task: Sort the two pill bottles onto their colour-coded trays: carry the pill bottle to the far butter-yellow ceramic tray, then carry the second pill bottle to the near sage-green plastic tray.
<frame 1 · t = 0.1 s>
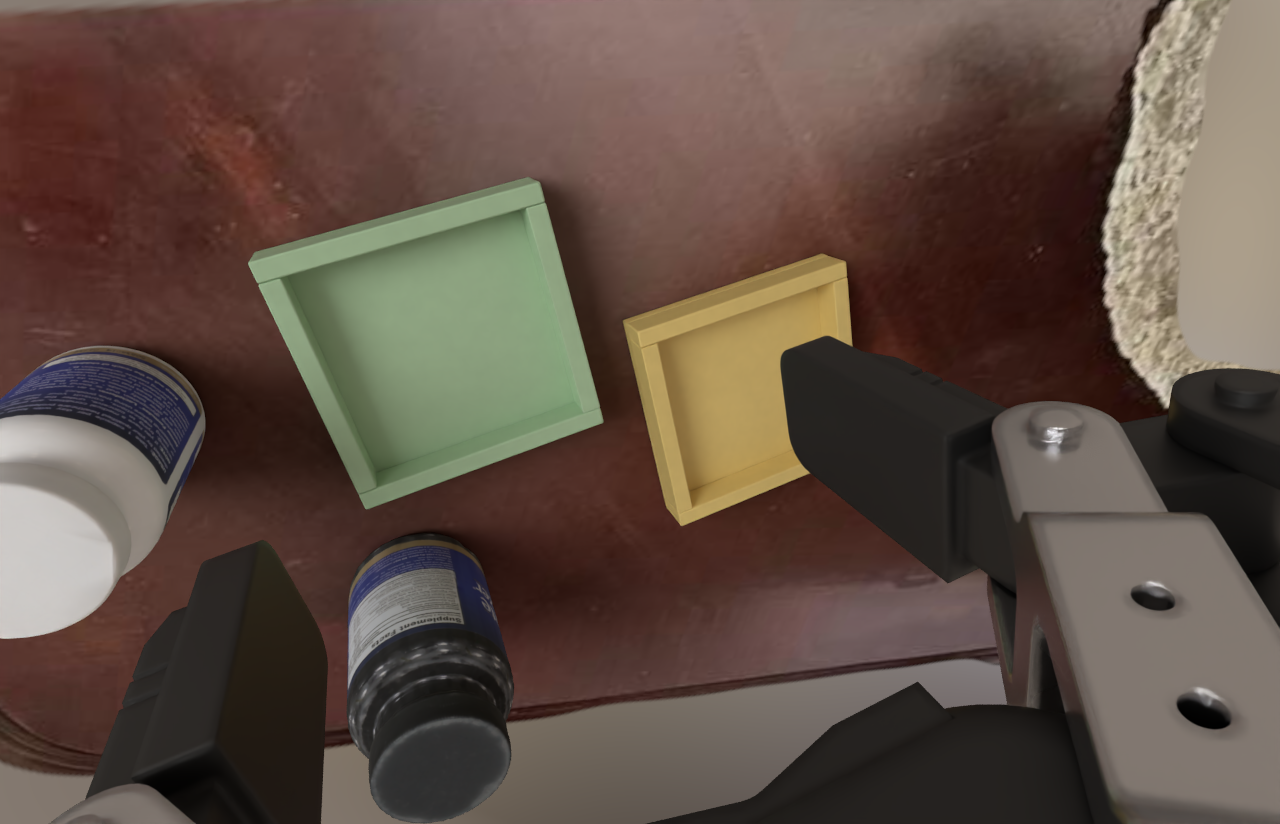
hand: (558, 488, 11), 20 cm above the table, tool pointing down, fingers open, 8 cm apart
yellow tray: (741, 384, 36), on the table
pill bottle: (121, 413, 26), on the table
pill bottle 2: (417, 581, 34), on the table
green tray: (443, 338, 29), on the table
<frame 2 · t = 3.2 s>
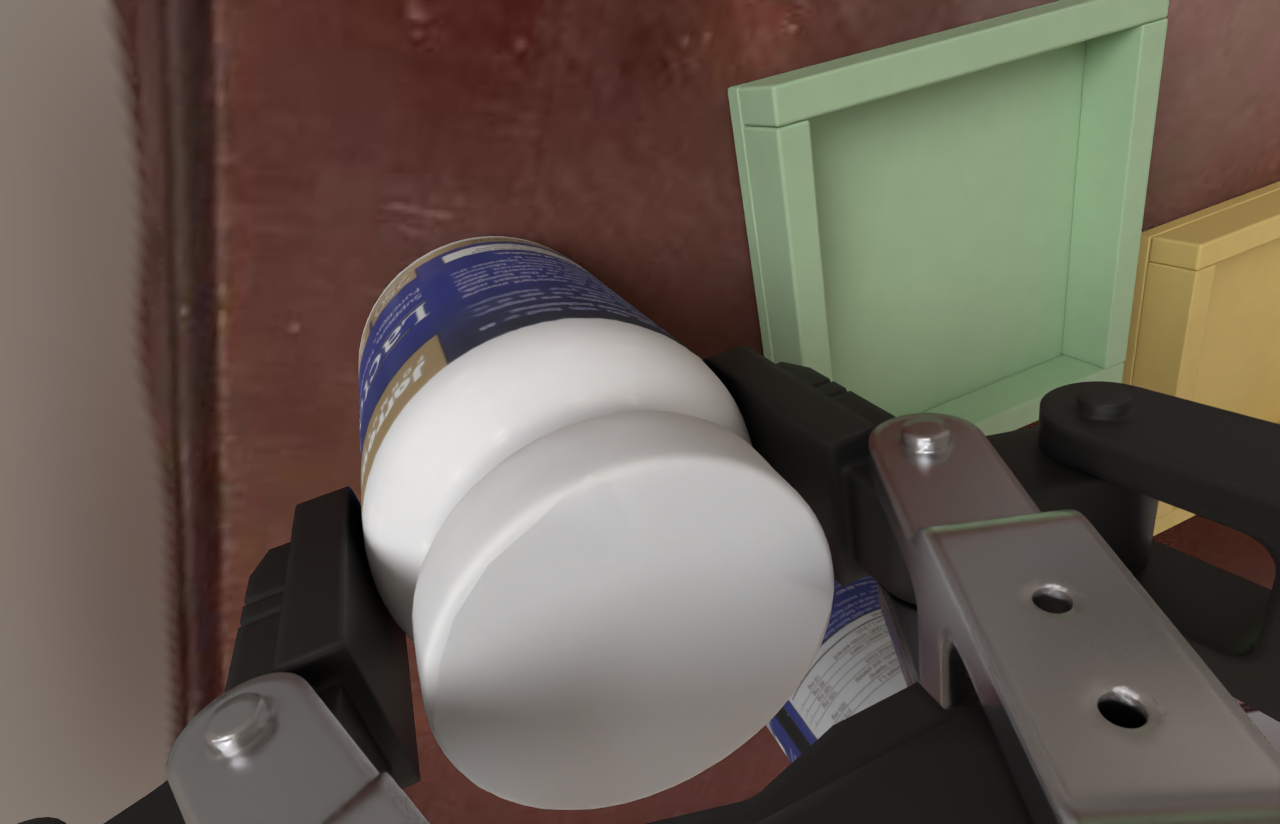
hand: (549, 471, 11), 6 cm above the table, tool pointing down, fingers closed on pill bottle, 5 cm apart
yellow tray: (1228, 337, 25), on the table
pill bottle: (491, 357, 16), on the table, touching gripper
pill bottle 2: (804, 616, 23), on the table
green tray: (927, 252, 19), on the table
when the fingers open (6 cm above the table, at t = 10.6 s): pill bottle stays where it is, resting on yellow tray.
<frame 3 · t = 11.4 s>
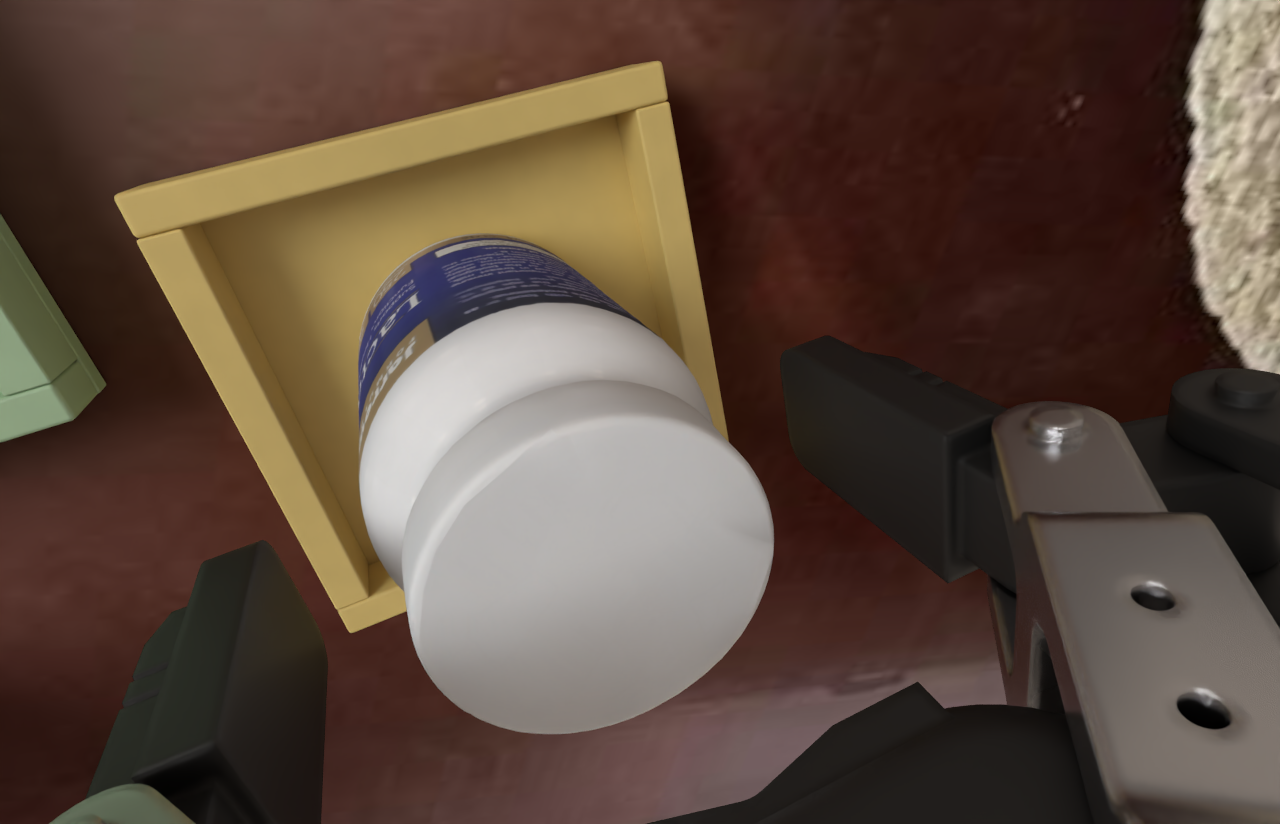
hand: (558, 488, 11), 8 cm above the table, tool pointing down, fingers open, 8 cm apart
yellow tray: (480, 344, 18), on the table
pill bottle: (482, 347, 17), resting on yellow tray
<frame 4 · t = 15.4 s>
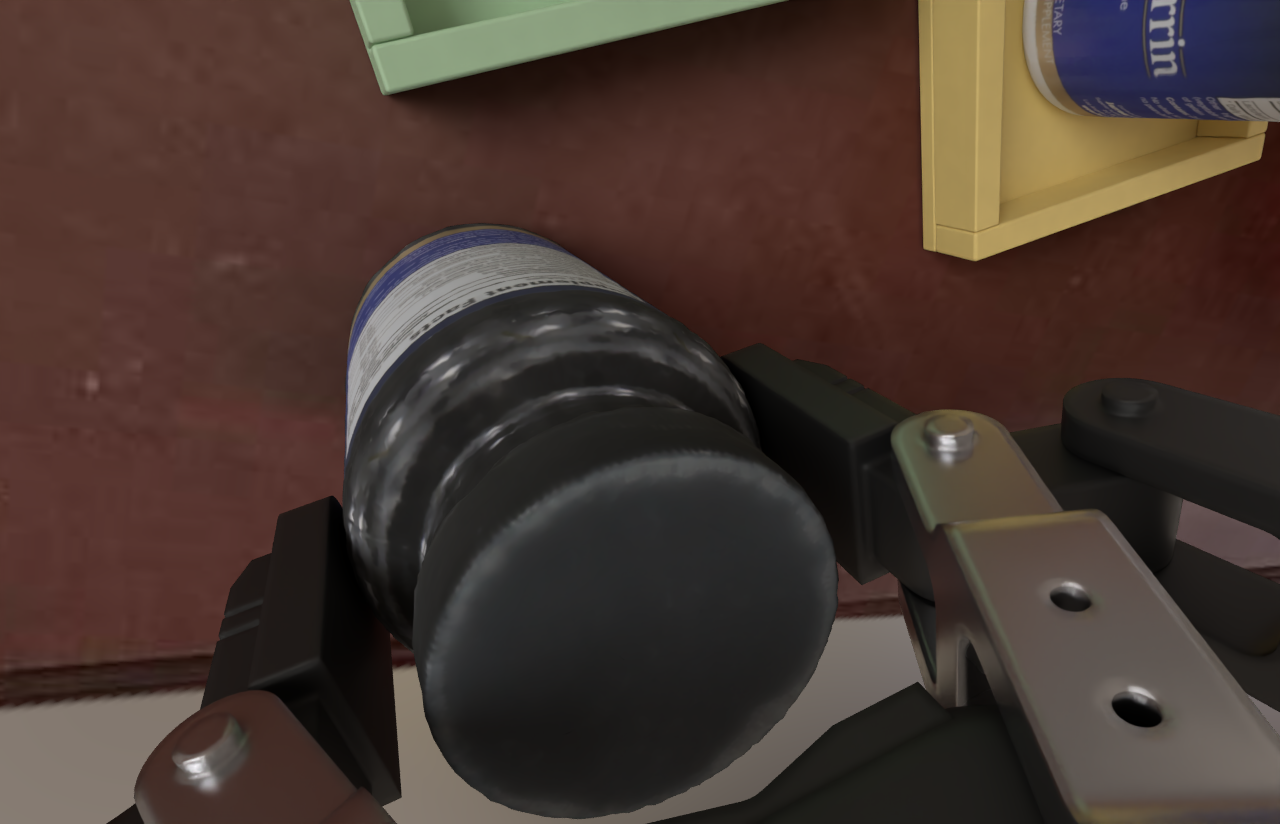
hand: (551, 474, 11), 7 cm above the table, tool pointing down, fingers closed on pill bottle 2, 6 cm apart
yellow tray: (1079, 4, 19), on the table
pill bottle: (1089, 1, 19), resting on yellow tray
pill bottle 2: (482, 345, 17), on the table, touching gripper
when the fingers open (7 cm above the table, at t = 21.8 s): pill bottle 2 stays where it is, resting on green tray.
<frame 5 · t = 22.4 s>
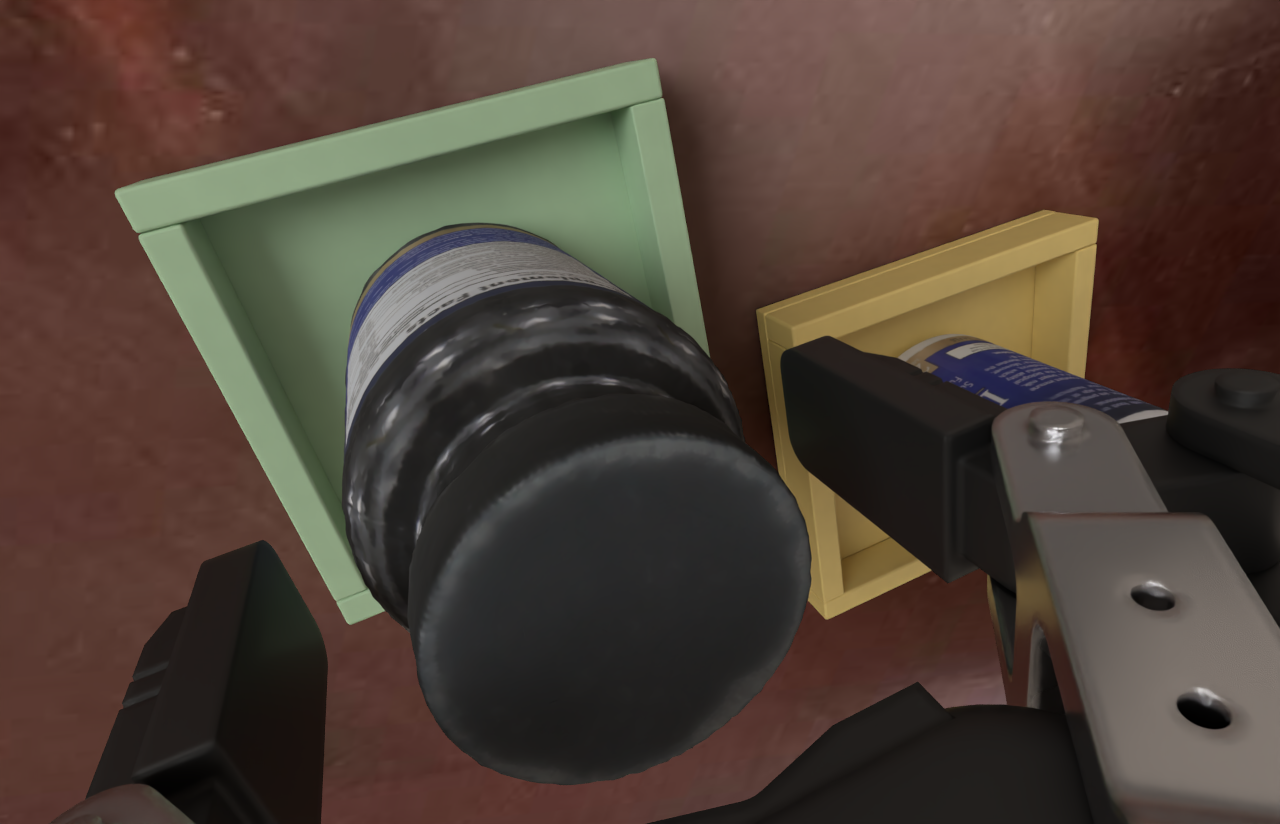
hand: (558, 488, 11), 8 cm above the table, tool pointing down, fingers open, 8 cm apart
yellow tray: (912, 407, 24), on the table
pill bottle: (918, 410, 24), resting on yellow tray
pill bottle 2: (479, 342, 17), resting on green tray
green tray: (477, 339, 18), on the table
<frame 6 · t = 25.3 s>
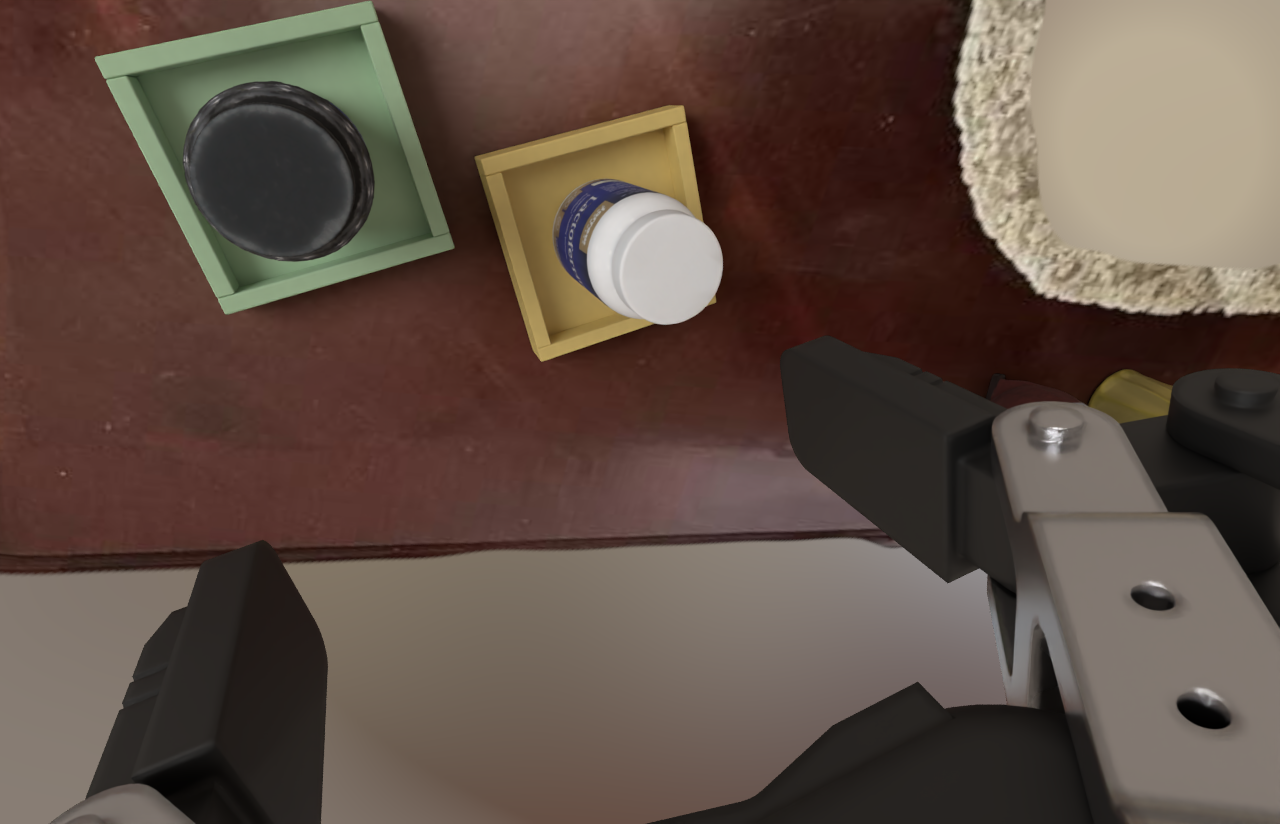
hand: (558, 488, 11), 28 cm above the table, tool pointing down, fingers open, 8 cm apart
yellow tray: (598, 232, 38), on the table
pill bottle: (600, 232, 38), resting on yellow tray
vase: (1109, 402, 59), on the table
pill bottle 2: (298, 161, 32), resting on green tray
green tray: (298, 161, 32), on the table
mate gourd: (986, 413, 55), on the table
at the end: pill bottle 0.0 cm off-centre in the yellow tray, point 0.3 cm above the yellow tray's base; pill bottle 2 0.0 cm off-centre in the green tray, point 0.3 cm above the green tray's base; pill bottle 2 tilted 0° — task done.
